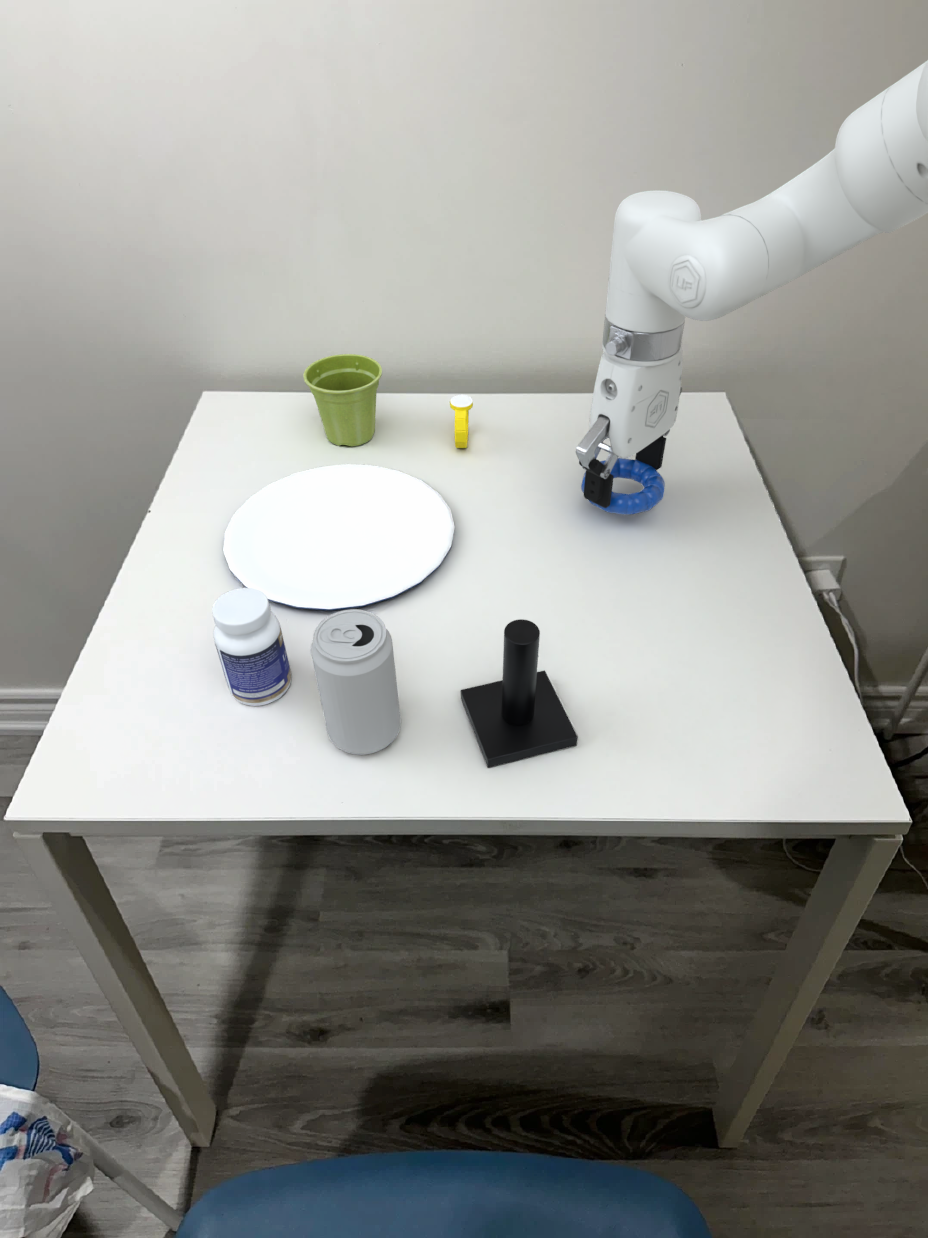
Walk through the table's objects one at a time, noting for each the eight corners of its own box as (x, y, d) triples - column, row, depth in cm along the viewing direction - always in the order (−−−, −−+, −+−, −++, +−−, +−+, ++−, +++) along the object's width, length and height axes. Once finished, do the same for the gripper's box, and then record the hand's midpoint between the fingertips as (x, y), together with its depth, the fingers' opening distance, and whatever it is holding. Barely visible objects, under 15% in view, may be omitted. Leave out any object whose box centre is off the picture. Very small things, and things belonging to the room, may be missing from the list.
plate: (183, 594, 87) (180, 585, 86) (278, 459, 104) (276, 450, 103) (419, 634, 82) (418, 625, 81) (477, 486, 100) (477, 477, 99)
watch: (452, 429, 108) (451, 387, 104) (474, 429, 108) (474, 387, 104) (449, 455, 104) (448, 412, 100) (472, 456, 104) (471, 413, 100)
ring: (641, 465, 99) (643, 448, 97) (677, 509, 92) (680, 492, 91) (569, 479, 97) (570, 462, 96) (600, 525, 91) (602, 508, 89)
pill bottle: (304, 685, 78) (288, 606, 71) (251, 718, 75) (228, 640, 68) (269, 652, 81) (250, 573, 74) (217, 683, 78) (191, 604, 71)
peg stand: (544, 678, 78) (551, 588, 70) (577, 745, 72) (589, 656, 65) (460, 698, 76) (458, 608, 69) (487, 768, 71) (488, 679, 63)
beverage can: (398, 760, 72) (388, 664, 63) (322, 759, 72) (302, 663, 63) (404, 702, 76) (394, 605, 68) (332, 701, 76) (314, 604, 68)
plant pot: (299, 432, 108) (288, 369, 102) (360, 407, 112) (354, 345, 106) (339, 464, 103) (330, 400, 97) (402, 437, 107) (397, 374, 101)
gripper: (621, 380, 76) (603, 533, 87) (724, 316, 84) (695, 462, 96) (555, 354, 79) (546, 504, 91) (660, 295, 88) (640, 439, 100)
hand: (623, 482), depth 94 cm, fingers closed on ring, 9 cm apart
